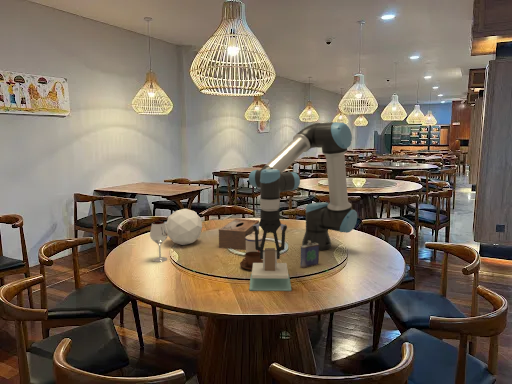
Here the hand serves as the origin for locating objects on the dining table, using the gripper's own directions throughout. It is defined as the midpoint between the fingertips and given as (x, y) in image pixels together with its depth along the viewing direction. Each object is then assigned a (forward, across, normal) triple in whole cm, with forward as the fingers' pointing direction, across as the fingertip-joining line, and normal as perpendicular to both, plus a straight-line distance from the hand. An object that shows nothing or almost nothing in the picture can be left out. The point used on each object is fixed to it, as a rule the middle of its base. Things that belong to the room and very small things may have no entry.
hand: (269, 266), depth 149 cm
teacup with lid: (+7, +7, -36) cm, 37 cm away
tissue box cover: (+7, +16, -57) cm, 60 cm away
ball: (+7, +46, -54) cm, 71 cm away
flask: (+7, -18, -20) cm, 28 cm away
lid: (+2, 0, 0) cm, 2 cm away
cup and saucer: (+7, +7, -18) cm, 21 cm away
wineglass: (+7, +52, -27) cm, 59 cm away
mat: (+7, 0, 0) cm, 7 cm away
